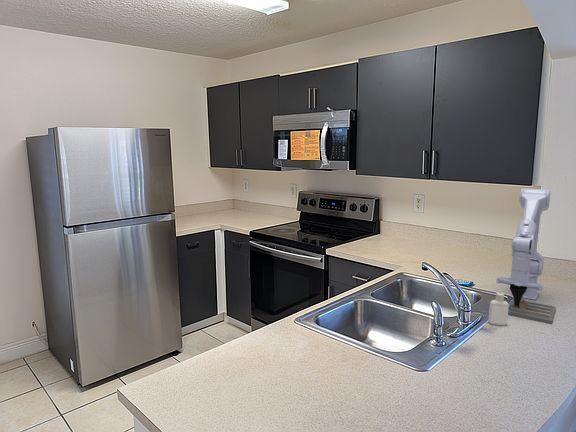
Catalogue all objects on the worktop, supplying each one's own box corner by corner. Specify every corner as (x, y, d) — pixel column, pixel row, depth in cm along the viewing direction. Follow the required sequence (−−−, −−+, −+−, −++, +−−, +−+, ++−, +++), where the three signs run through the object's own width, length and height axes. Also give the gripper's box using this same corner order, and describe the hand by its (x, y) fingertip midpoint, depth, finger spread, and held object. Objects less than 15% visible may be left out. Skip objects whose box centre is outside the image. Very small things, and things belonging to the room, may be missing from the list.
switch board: (513, 301, 160) (513, 296, 160) (555, 309, 152) (556, 304, 151) (506, 314, 147) (506, 308, 147) (551, 324, 139) (552, 318, 139)
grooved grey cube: (519, 301, 155) (520, 294, 155) (525, 302, 154) (526, 295, 154) (518, 303, 154) (519, 295, 153) (524, 304, 153) (525, 297, 152)
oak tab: (520, 307, 149) (520, 300, 149) (526, 309, 148) (527, 301, 148) (519, 309, 148) (520, 302, 147) (525, 310, 146) (526, 303, 146)
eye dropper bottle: (504, 327, 136) (508, 293, 134) (486, 323, 140) (489, 289, 138) (508, 323, 139) (511, 290, 137) (490, 319, 143) (493, 286, 141)
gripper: (496, 268, 148) (492, 303, 150) (542, 275, 139) (538, 313, 141) (499, 264, 153) (496, 298, 156) (544, 271, 145) (540, 307, 147)
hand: (516, 305), depth 149 cm, fingers closed
